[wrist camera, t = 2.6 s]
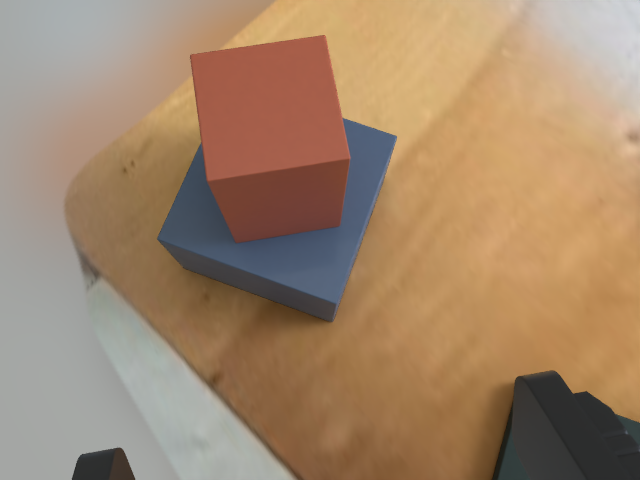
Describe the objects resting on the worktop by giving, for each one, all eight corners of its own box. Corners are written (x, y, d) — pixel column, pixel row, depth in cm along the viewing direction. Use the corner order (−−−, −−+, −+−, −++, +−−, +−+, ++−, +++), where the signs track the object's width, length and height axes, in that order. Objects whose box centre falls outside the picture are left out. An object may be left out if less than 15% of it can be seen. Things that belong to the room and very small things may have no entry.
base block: (332, 322, 33) (336, 304, 27) (183, 268, 34) (156, 239, 28) (383, 180, 35) (397, 135, 30) (242, 132, 36) (229, 79, 30)
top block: (340, 226, 28) (350, 158, 21) (235, 243, 28) (206, 181, 20) (322, 131, 30) (325, 34, 22) (221, 147, 29) (189, 54, 22)
